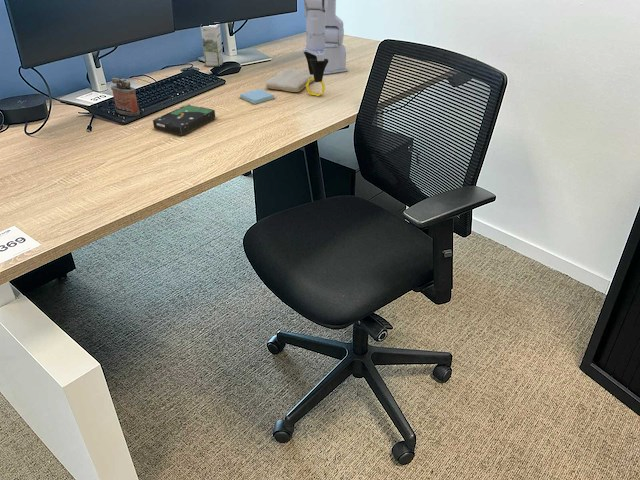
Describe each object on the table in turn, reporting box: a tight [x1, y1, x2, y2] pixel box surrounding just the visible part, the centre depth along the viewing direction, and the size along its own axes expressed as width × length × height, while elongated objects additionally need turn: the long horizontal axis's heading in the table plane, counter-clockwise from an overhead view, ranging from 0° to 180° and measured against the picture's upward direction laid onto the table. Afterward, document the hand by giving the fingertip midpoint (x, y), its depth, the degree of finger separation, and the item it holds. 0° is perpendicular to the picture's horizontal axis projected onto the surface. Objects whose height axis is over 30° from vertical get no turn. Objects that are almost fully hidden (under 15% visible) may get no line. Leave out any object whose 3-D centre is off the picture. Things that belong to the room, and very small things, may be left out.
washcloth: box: [265, 67, 315, 93], centre depth 180 cm, size 12×18×3 cm, turn 160°
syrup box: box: [200, 23, 224, 68], centre depth 194 cm, size 6×6×14 cm
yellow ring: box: [305, 76, 326, 97], centre depth 170 cm, size 6×3×6 cm, turn 67°
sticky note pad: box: [239, 88, 275, 105], centre depth 168 cm, size 8×8×1 cm
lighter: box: [110, 77, 141, 117], centre depth 155 cm, size 8×3×10 cm, turn 65°
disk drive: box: [152, 104, 216, 136], centre depth 150 cm, size 10×3×15 cm
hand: (315, 77), depth 168 cm, fingers open, 7 cm apart
